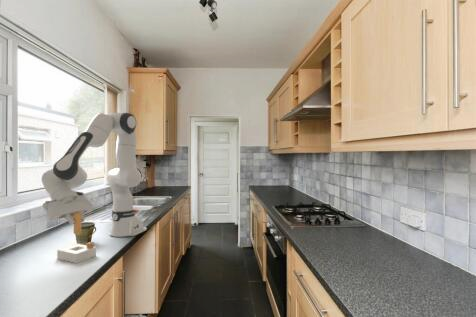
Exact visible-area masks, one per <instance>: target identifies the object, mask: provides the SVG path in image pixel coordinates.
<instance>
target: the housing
mask: <svg viewBox="0 0 476 317" xmlns="http://www.w3.org/2000/svg"><path fill="white" fill-rule="evenodd" d="M56 256H57V257H56V258H57V260H60V261H64V260H65V261H64V262H68V261H69V262H70V263H74V264H79V263H81V262H84V261H86V260H88V259H89V260H90V259H91V257H92V258H94V257H96V256H97V247H96V246H94V242H93V241H91V242H89V243H87V244H86V245H82V244H77V243H75V244H72V245H68V246H66V247H65V246H64V247H63V248H59V249H57V254H56ZM69 262H68V263H69Z"/></svg>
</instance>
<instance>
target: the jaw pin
mask: <svg viewBox="0 0 476 317" xmlns="http://www.w3.org/2000/svg"><path fill="white" fill-rule="evenodd" d="M81 218H82V213H81V212H77V213H74V216H73V219H75V220H76V223H75V224H73V234H74V235H75V234H78V233H81V223H82V222H81Z"/></svg>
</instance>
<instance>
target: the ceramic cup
mask: <svg viewBox="0 0 476 317" xmlns="http://www.w3.org/2000/svg"><path fill="white" fill-rule="evenodd" d="M95 232H97V228H96V223H95V222H92V221H84V222H81V233H78V234H74V235H75V240H76V244H82V245H85V244H86V245H87V243H89V242H92V238H93V235H94V233H95Z"/></svg>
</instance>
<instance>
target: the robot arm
mask: <svg viewBox="0 0 476 317" xmlns="http://www.w3.org/2000/svg"><path fill="white" fill-rule="evenodd" d="M136 128H137V118H136V116H135V115H134V114H132V113H130V112H112V113H111V112H110V113H105V112H99V113H97V114H96V115H95V116H94V117H93V118H92V119H91V121H90V122H89V123H88V125H87V127H86V129H85V130H84V131H83V132H81V133H80V134H79V135H78V136H76V139H75V140H74V141H73V142H72V144H71V145H70V146H69V148H68V149H67V151H65V153H64V154H63V155H62V156H61V157H60V158H59V159H57V160H56V161H55V162H54V164H53V167H52V168H50V169H48V170H46V171H45V172H44V173H43V174H42V175H41V184H42V186H43V188H44V190H45V191H46V192H47V194H48V195H49V196H50V200H46V201H44V202H43V203H42V207H43V208H44V210H45V212H46V215H47V219H48V220H51V221H55V220H60V219H64V220H66V221H68V222H69V223H70V224H71V225H74V224H75V223H76V220H75V219H74V213H77V212H81V213H82V218H81V223H82V222H86V219H85V217H84V215H85V214H89V213H91V212H92V211H93V209H94V206H93V204H92V202H91V201H90V200H89V198H87V197H86V194H85V192H83V191H76V190H74V189H76V188H78V187H81V186H82V185H83V184H84V183H86V181H87V180H88V173H87V172H86V171H85V170H84V169H83V167H81V166H80V164H79V162H80V158H81V157H82V156H83V154H84V153H85V152H86V150H87V149H88V148H89V147H91V148H100V147H102V146H104V144H105V143H106V142H107V140H108V138H109V136H110V134H111V133H116V134H117V138H116V146H115V147H116V148H115V156H114V157H115V160H116V161H117V165H118V167H115V168H113V169H110V170H109V171H108V173H107V174H106V180H107V183H109V185H110V189H111V194H112V209H111V210H112V211H111V218H112V219H111V224H110V226H111V227H110V230H109V236H111V237H117V238H119V237H120V238H121V237H122V238H123V237H134V236H136V235H139V234H142V233H144V232H145V231H147V230H148V229H147V227H145V226H144V223H143V222H144V221H143V220H142V219H141V218H140V217H138V216H137V215H136V213H138V212H139V210H138V209H136V208H135V209H134V196H133V194H132V192H131V190H130V188H134V187H137V186H139V185H140V184H141V182H142V177H141V174H140V172H139V170H138V166H137V162H136V153H137V132H136Z"/></svg>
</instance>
